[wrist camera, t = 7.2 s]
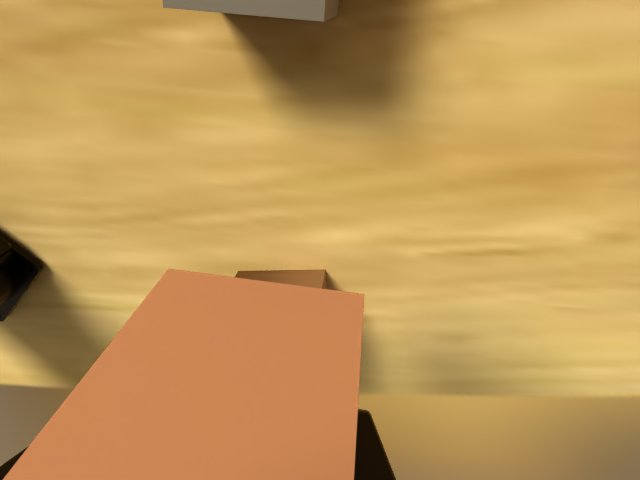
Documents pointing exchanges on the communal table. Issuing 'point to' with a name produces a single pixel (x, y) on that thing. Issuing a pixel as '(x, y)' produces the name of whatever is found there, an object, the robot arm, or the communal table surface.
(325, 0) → the gray block
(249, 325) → the terracotta block
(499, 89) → the communal table surface
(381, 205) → the communal table surface
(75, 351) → the communal table surface
